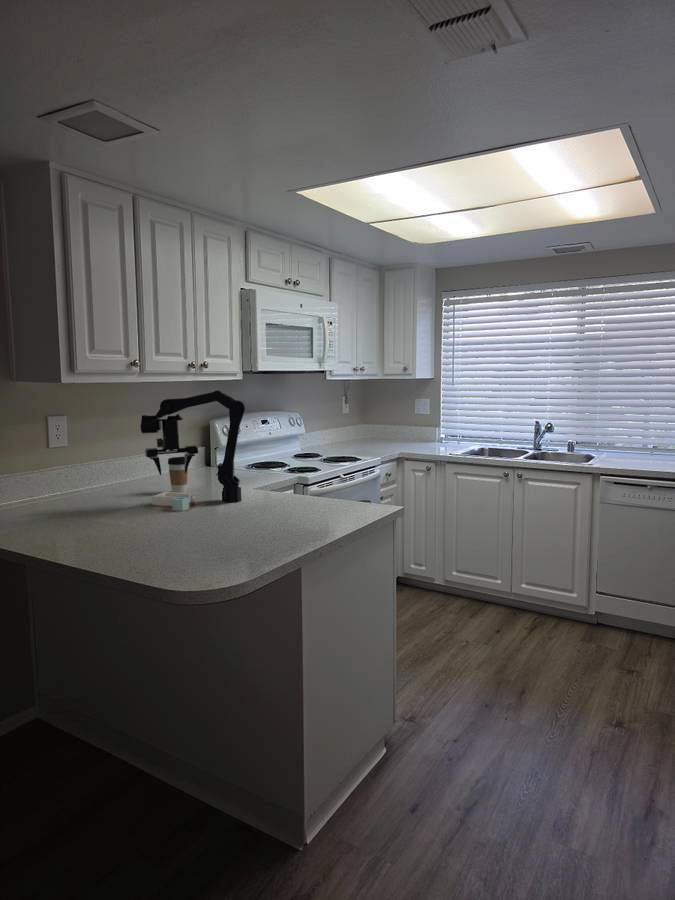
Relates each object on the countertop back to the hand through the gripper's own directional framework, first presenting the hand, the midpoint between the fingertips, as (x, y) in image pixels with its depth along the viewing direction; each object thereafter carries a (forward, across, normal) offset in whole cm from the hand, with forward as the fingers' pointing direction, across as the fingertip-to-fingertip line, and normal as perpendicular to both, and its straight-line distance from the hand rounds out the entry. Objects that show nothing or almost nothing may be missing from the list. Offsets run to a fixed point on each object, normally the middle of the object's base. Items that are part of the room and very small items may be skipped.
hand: (173, 473), depth 233 cm
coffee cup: (+12, -6, -25) cm, 28 cm away
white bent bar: (+11, +2, +2) cm, 11 cm away
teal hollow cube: (+11, 0, +13) cm, 17 cm away
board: (+12, +1, +6) cm, 14 cm away
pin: (+12, -5, +8) cm, 15 cm away
